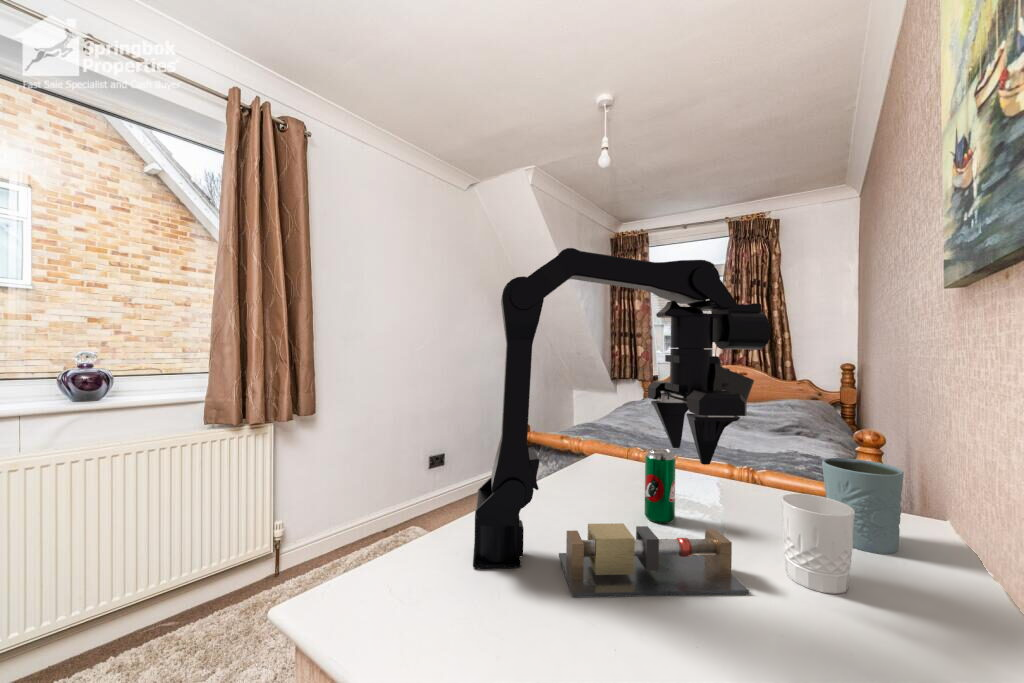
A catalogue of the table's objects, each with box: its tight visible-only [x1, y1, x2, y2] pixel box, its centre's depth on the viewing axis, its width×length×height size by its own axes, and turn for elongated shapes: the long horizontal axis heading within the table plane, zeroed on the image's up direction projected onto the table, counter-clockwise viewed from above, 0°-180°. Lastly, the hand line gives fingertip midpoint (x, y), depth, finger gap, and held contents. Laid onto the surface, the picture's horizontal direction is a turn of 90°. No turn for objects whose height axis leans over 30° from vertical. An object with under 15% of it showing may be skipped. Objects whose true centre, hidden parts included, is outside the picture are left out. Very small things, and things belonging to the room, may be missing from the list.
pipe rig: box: [558, 528, 750, 598], centre depth 58 cm, size 22×10×5 cm, turn 93°
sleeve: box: [587, 522, 636, 575], centre depth 57 cm, size 5×5×5 cm
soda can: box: [644, 447, 676, 525], centre depth 76 cm, size 5×5×12 cm
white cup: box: [781, 493, 855, 595], centre depth 57 cm, size 8×8×10 cm
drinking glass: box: [821, 457, 904, 555], centre depth 69 cm, size 10×10×12 cm
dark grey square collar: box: [635, 525, 659, 571], centre depth 58 cm, size 2×4×4 cm, turn 3°
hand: (689, 455), depth 63 cm, fingers open, 9 cm apart
